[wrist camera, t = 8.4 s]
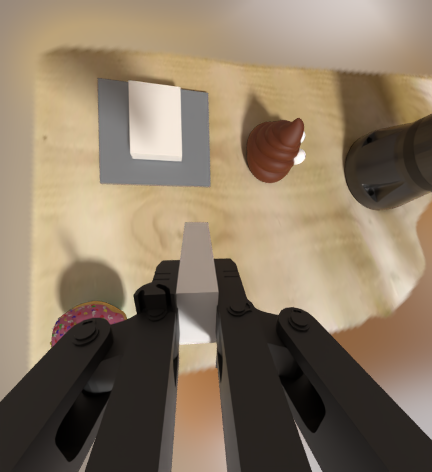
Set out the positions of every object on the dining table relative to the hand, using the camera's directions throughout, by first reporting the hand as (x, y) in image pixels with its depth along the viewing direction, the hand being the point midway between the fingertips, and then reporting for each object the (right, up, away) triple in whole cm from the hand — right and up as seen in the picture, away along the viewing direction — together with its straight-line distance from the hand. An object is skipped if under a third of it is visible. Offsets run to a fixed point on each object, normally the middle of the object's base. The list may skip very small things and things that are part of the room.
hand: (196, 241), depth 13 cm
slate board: (-8, +16, +17) cm, 24 cm away
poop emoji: (+10, +14, +22) cm, 28 cm away
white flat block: (-7, +12, +15) cm, 21 cm away
